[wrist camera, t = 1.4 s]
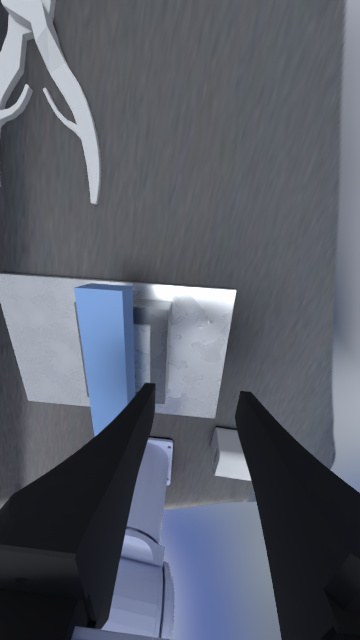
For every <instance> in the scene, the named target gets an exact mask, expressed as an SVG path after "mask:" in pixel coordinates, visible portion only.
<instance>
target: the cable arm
mask: <svg viewBox="0 0 360 640" xmlns="http://www.w3.org/2000/svg"><path fill="white" fill-rule="evenodd" d="M74 292H75V299H76V306H77V314H78V321H79V328H80V335H81V342H82V350H83V357H84V364H85V371H86V378H87V386H88V393H89V400H90V407H91V414H92V422H93V429H94V436H96V435H98V434H99V433H100V432H101V431H102V430H103V429H104V428H105V427H106V426H107V425H108V424H109V423H111V422H112V421H113V420H114V418H115V417H116V416H117V415H118V414H119V413H120V412H121V411H122V410H123V409H124V408H125V407H126V406H127V405H128V403H129V402H130V401H131V400H132V399H133V398H134V396H135V361H134V326H133V292H132V286H124V285H110V284H96V283H90V284H86V285H82V286H78V287H74Z"/></svg>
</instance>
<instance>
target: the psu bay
mask: <svg viewBox="0 0 360 640" xmlns="http://www.w3.org/2000/svg"><path fill="white" fill-rule="evenodd" d="M90 283H96V284H110V285H124V286H132V292H133V326H134V361H135V395H136V394H137V393H138V391H139V390H140V389H141V387H142V386H143V385H144V384H145V383H156V390H155V413H163V414H174V415H184V416H195V417H205V418H215V414H216V408H217V402H218V396H219V390H220V384H221V378H222V372H223V367H224V361H225V355H226V349H227V343H228V337H229V331H230V325H231V319H232V313H233V307H234V301H235V295H236V290H235V289H231V288H217V287H203V286H189V285H174V284H160V283H146V282H131V281H117V280H103V279H89V278H74V277H60V276H46V275H31V274H17V273H3V272H2V273H0V303H1V306H2V310H3V313H4V317H5V320H6V324H7V327H8V331H9V334H10V338H11V341H12V345H13V348H14V352H15V355H16V359H17V362H18V366H19V369H20V373H21V376H22V380H23V383H24V387H25V390H26V394H27V397H28V401H38V402H48V403H58V404H69V405H79V406H90V400H89V393H88V386H87V378H86V371H85V364H84V357H83V350H82V342H81V335H80V328H79V321H78V314H77V306H76V299H75V292H74V287H78V286H82V285H86V284H90Z"/></svg>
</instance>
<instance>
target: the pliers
mask: <svg viewBox="0 0 360 640" xmlns="http://www.w3.org/2000/svg"><path fill="white" fill-rule="evenodd" d="M1 1H2V5H3V6H4V7H5V9H6V10H7V11H8V13H9V21H8V33H7V36H6V39H5V41H4V44H3V47H2V50H1V52H0V136H1V127H2V126H3V125H4V124H5V123H6V122H7V121H10V120H12V119H14V118H16V117H17V116H18V115H20V114H21V113H22V112H23V111H24V109H25V107H26V106H27V104H28V102H29V100H30V98H31V95H32V93H33V90H32V89H31V88H30V87H29V86H28V85H27V84H26V85H25V87H24V90H23V92H22V94H21V96H20V98H19V99H18V101H17V103H16V104H14V105H13V106H12V107H11V108H9V109H5V106H6V102H7V100H8V98H9V96H10V95H11V93H12V91H13V89H14V88H15V86H16V84H17V83H18V81H19V80H20V78H21V76H22V75H23V73H24V66H25V56H26V47H27V40H30V39H34V38H35V41H36V44H37V46H38V48H39V50H40V53H41V55H42V57H43V59H44V62H45V64H46V66H47V68H48V71H49V73H50V75H51V76H52V78H53V79H54V81H55V83H56V84H57V86H58V88H59V89H60V91H61V92H62V94H63V96H64V97H65V99H66V101H67V103H68V104H69V106H70V108H71V110H72V112H73V115H74V117H75V120H76V123H77V125H76V124H74V123H72V122H70V121H68V120H67V119H66V118H65V117H64V116H63V115H62V114H61V113H60V111H59V110H58V108H57V106H56V105H55V103H54V101H53V99H52V97H51V95H50V93H49V91H48V90H47V89H46V88H44V89H43V91H44V93H45V95H46V97H47V99H48V102H49V103H50V105H51V107H52V109H53V110H54V112H55V114H56V115H57V116H58V117H59V118H60V119H61V121H62V122H63V123H64V124H65V125H66V126H67V127H68V128H69V129H70V130H72V131H73V132H74V133H76V134H77V135H78V136H79V137H80V138H81V140H82V144H83V149H84V153H85V158H86V163H87V170H88V178H89V187H90V199H91V203H92V204H95V205H98V203H99V197H100V189H101V156H100V148H99V142H98V136H97V132H96V127H95V123H94V119H93V116H92V113H91V110H90V107H89V104H88V101H87V99H86V97H85V94H84V92H83V90H82V88H81V86H80V84H79V83H78V81H77V80H76V78H75V77H74V75H73V73H72V72H71V70H70V69H69V67H68V64H67V62H66V60H65V57H64V55H63V53H62V50H61V48H60V45H59V40H58V37H57V34H56V31H55V28H54V26H53V17H54V10H55V3H56V0H1ZM0 187H1V184H0Z"/></svg>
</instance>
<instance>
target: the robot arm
mask: <svg viewBox="0 0 360 640" xmlns="http://www.w3.org/2000/svg"><path fill="white" fill-rule="evenodd" d="M155 390H156V383H145V384H144V385H143V386H142V387H141V389H140V390H139V391H138V393H137V394H136V395H135V396H134V398H133V399H132V400H131V401H130V402H129V403H128V405H127V406H126V407H125V408H124V409H123V410H122V411H121V412H120V413H119V414H118V415H117V416H116V417H115V418H114V420H113V421H112V422H111V423H109V424H108V425H107V426H106V427H105V428H104V429H103V430H102V431H101V432H100V433H99V434H98V435H96V436H95V437H94V438H93V439H92V440H90V441H89V442H88V443H87V444H86V445H84V446H83V447H82V448H81V449H79V450H78V451H77V452H76V453H74V454H73V455H71V456H70V457H69V458H67V459H66V460H65V461H63V462H62V463H60V464H59V465H58V466H56V467H55V468H53V469H52V470H50V471H49V472H48V473H46V474H45V475H43V476H41V477H40V478H38V479H37V480H35V481H34V482H32V483H30V484H29V485H27V486H26V487H24V488H23V489H21V490H19V491H18V492H16V493H14V494H13V495H12V496H11V497H10V498H9V500H8V501H7V502H6V503H5V504H4V505H3V507H2V508H1V509H0V640H172V636H173V624H174V583H173V577H172V574H171V571H170V567H169V564H168V563H167V562H165V561H163V558H164V546H161V545H160V540H161V531H162V522H163V512H164V504H165V494H166V485H170V482H171V467H172V452H173V441H172V440H168V439H158V438H149V435H150V431H151V428H152V423H153V418H154V413H155ZM235 420H236V426H237V432H238V436H239V440H240V443H241V447H242V450H243V453H244V457H245V460H246V464H247V467H248V470H249V474H250V477H251V480H252V484H253V488H254V492H255V496H256V501H257V506H258V510H259V515H260V519H261V525H262V529H263V535H264V540H265V545H266V550H267V556H268V561H269V566H270V572H271V578H272V583H273V589H274V595H275V601H276V607H277V613H278V619H279V625H280V632H281V638H282V640H360V493H359V492H357V491H356V490H355V489H354V488H352V487H351V486H350V485H348V484H347V483H346V482H344V481H343V480H342V479H341V478H339V477H338V476H337V475H336V474H334V473H333V472H332V471H331V470H329V469H328V468H327V467H326V466H324V465H323V464H322V463H321V462H320V461H318V460H317V459H316V458H315V457H314V456H313V455H312V454H310V453H309V452H308V451H307V450H306V449H305V448H304V447H303V446H302V445H300V444H299V443H298V442H297V441H296V440H295V439H294V438H293V437H292V436H291V435H290V434H289V433H288V432H287V431H286V430H285V429H284V428H283V427H282V426H281V425H280V424H279V423H278V422H277V421H276V420H275V418H274V417H273V416H272V415H271V414H270V413H269V412H268V411H267V410H266V409H265V407H264V406H263V405H262V404H261V403H260V402H259V401H258V399H257V398H256V397H255V396H254V395H253V394H252V393H251V392H245V391H240V396H239V401H238V405H237V410H236V414H235Z"/></svg>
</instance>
